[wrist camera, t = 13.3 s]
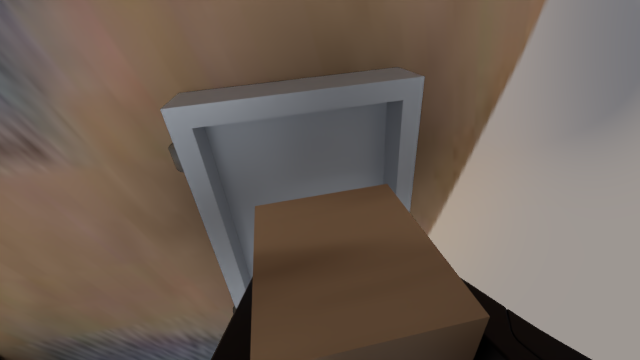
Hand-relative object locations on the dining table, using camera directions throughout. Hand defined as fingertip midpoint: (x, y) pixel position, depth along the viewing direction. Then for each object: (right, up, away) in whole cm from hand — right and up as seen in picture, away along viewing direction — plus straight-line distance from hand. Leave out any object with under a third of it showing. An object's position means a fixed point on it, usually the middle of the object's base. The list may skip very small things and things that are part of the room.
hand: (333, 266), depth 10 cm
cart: (-1, 0, +11) cm, 11 cm away
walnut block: (0, +1, +1) cm, 1 cm away
